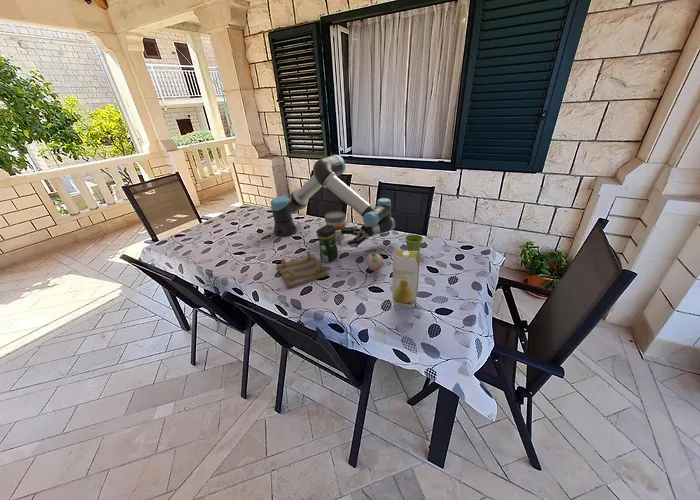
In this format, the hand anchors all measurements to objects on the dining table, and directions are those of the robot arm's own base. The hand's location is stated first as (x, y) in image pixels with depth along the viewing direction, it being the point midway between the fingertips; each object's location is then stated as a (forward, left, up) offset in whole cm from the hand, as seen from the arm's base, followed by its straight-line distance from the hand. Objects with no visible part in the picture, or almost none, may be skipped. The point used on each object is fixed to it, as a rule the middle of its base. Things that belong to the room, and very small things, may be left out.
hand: (335, 239), depth 143 cm
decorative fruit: (+23, +9, -11) cm, 27 cm away
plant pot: (+19, +36, -11) cm, 43 cm away
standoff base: (+3, -22, -10) cm, 24 cm away
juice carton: (+50, +6, -11) cm, 52 cm away
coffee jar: (-1, -5, -11) cm, 11 cm away
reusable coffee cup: (-23, +11, -11) cm, 27 cm away
